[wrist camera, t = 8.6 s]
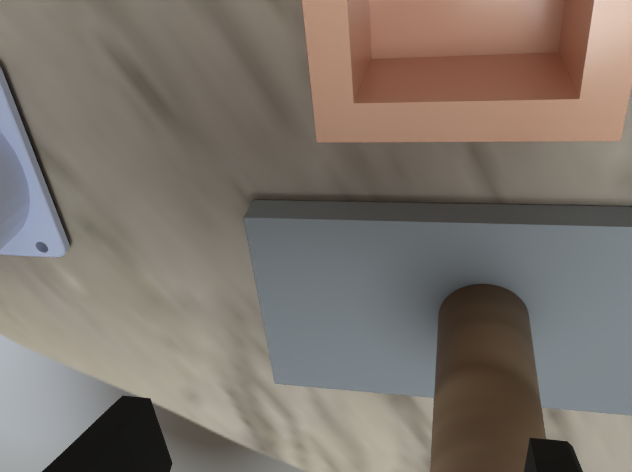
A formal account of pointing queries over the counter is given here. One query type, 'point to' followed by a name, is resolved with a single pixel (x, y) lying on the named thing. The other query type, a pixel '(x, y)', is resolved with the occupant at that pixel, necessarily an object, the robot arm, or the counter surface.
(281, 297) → the board
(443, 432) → the peg
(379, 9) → the square hollow frame
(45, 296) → the counter surface
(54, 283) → the counter surface
